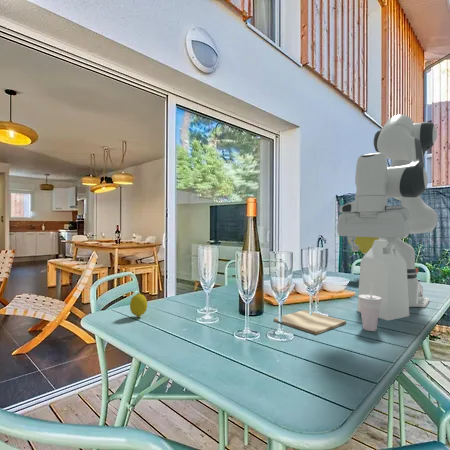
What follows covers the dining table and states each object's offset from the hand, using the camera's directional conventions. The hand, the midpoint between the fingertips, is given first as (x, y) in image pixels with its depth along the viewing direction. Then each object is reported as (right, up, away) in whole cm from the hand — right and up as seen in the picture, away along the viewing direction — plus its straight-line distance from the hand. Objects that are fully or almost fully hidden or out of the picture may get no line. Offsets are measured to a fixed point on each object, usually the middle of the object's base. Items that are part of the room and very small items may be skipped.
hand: (370, 252), depth 92 cm
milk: (+12, -23, +17) cm, 31 cm away
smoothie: (0, -23, 0) cm, 23 cm away
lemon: (-72, -23, +10) cm, 76 cm away
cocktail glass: (+35, -23, +82) cm, 92 cm away
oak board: (-17, -23, +6) cm, 29 cm away
